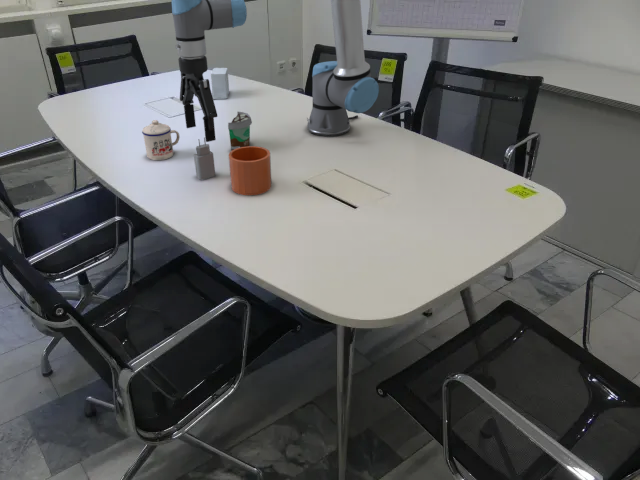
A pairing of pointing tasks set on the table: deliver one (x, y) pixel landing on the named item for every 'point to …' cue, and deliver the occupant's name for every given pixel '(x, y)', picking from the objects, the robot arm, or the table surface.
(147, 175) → the table surface
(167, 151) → the teacup with lid
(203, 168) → the power adapter
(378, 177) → the table surface
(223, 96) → the cosmetics box
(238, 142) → the food container
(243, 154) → the orange flower pot
